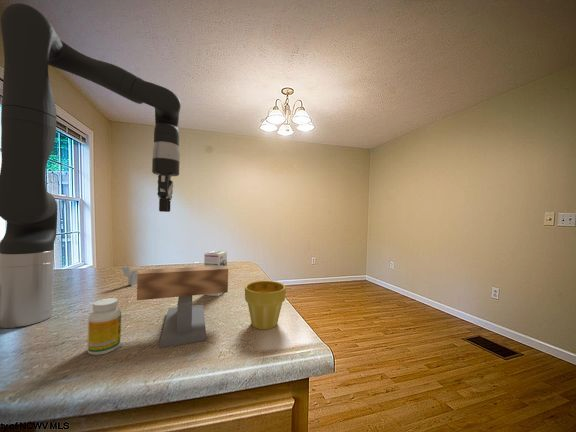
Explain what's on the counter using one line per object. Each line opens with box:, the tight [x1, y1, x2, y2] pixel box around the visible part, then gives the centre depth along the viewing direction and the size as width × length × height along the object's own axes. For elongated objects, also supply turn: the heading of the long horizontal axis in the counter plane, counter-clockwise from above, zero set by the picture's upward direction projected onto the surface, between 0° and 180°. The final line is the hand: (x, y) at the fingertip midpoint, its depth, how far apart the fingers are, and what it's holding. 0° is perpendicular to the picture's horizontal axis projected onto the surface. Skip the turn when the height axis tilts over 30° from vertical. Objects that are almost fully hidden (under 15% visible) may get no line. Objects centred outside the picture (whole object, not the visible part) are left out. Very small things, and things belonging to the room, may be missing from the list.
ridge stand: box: [159, 295, 207, 349], centre depth 60 cm, size 9×18×8 cm, turn 21°
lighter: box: [120, 264, 140, 287], centre depth 91 cm, size 7×2×8 cm, turn 167°
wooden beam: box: [136, 266, 229, 301], centre depth 60 cm, size 20×4×6 cm, turn 111°
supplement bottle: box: [87, 297, 122, 356], centre depth 49 cm, size 5×5×10 cm
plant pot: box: [244, 280, 287, 330], centre depth 62 cm, size 10×10×10 cm
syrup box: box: [203, 250, 228, 297], centre depth 85 cm, size 6×6×14 cm
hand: (164, 211), depth 75 cm, fingers open, 8 cm apart
